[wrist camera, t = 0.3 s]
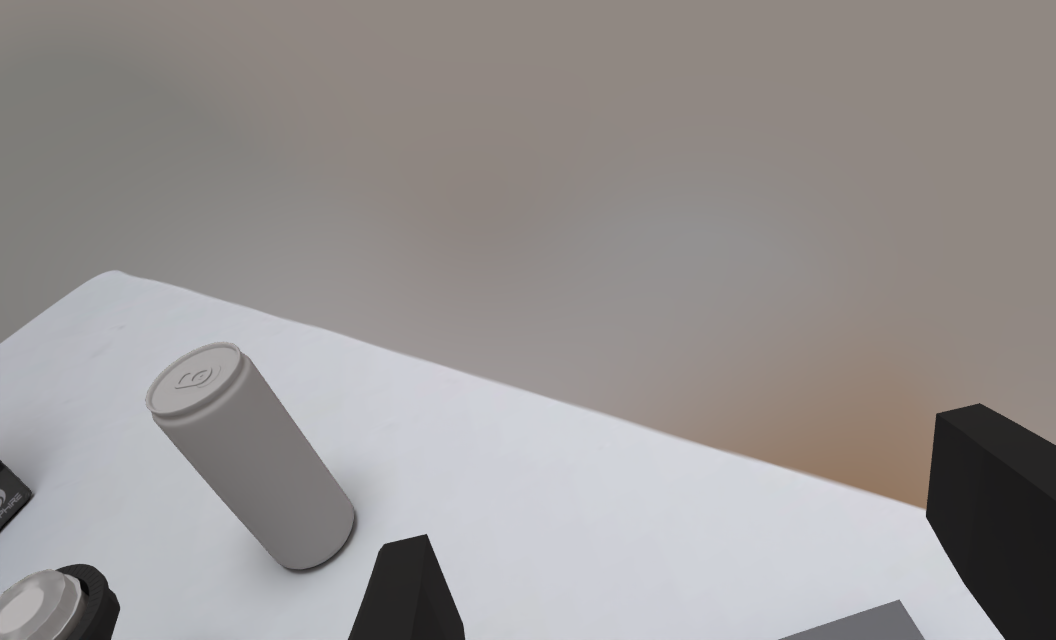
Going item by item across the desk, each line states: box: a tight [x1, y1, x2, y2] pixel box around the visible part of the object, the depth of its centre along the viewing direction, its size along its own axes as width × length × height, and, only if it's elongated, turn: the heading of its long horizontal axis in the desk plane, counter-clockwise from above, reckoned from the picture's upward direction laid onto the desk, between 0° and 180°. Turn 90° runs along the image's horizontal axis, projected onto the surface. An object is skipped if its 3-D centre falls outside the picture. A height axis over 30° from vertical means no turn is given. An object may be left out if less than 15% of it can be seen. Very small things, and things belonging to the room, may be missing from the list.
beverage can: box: [145, 342, 354, 569], centre depth 38 cm, size 5×5×12 cm
